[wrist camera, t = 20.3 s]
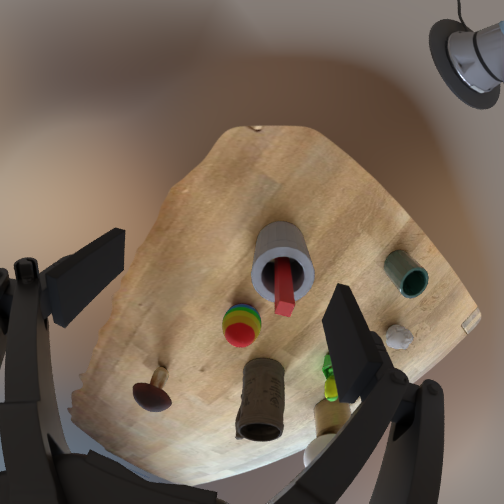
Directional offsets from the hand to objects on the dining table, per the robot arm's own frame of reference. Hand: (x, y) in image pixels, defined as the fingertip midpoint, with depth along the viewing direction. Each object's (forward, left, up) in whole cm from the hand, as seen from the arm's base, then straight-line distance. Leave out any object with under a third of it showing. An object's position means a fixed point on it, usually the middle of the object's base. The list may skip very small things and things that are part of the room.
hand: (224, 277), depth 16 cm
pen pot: (+7, +33, -36) cm, 50 cm away
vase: (+10, +7, -36) cm, 38 cm away
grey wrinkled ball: (+23, +41, -37) cm, 60 cm away
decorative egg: (+28, +4, -37) cm, 46 cm away
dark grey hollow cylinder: (+47, +13, -37) cm, 61 cm away
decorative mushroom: (+55, -13, -37) cm, 67 cm away
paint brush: (+10, +7, -36) cm, 38 cm away
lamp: (+57, +37, -37) cm, 77 cm away
